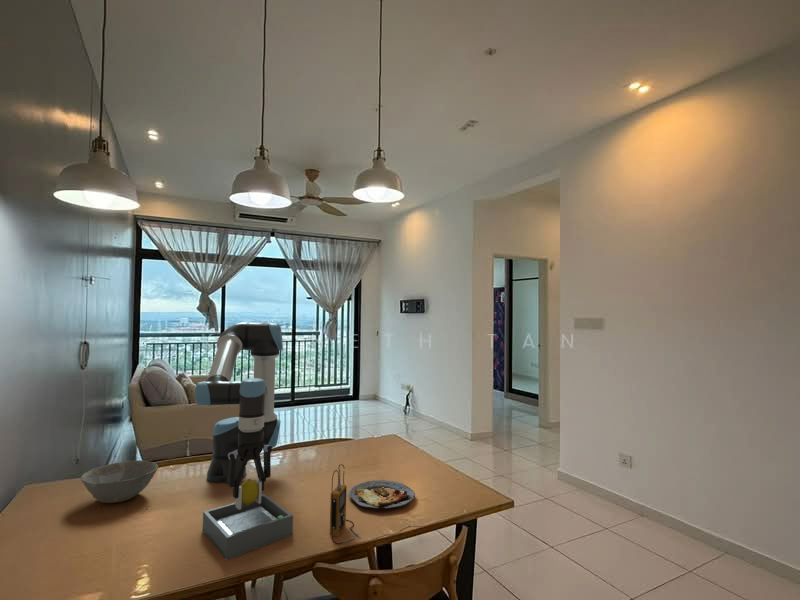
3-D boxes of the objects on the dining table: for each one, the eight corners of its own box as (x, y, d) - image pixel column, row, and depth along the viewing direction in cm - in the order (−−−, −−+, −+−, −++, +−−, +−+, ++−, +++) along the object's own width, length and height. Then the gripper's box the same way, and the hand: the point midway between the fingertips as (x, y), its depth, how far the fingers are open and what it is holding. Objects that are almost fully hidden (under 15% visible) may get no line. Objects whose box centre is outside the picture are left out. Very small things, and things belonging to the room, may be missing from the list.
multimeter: (356, 547, 120) (358, 478, 121) (324, 543, 122) (326, 474, 123) (370, 523, 134) (371, 461, 135) (341, 519, 136) (343, 458, 137)
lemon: (241, 501, 129) (242, 476, 129) (259, 501, 130) (260, 475, 130) (236, 509, 124) (237, 483, 124) (254, 509, 124) (255, 482, 124)
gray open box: (202, 531, 127) (203, 509, 127) (264, 511, 140) (264, 492, 141) (226, 560, 112) (227, 536, 112) (292, 535, 125) (293, 513, 126)
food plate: (426, 504, 148) (426, 494, 148) (368, 520, 136) (368, 509, 137) (392, 482, 170) (392, 473, 170) (340, 493, 158) (340, 484, 158)
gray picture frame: (213, 523, 127) (214, 519, 127) (260, 508, 137) (260, 505, 137) (232, 543, 116) (232, 539, 116) (281, 526, 126) (281, 522, 126)
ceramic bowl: (164, 498, 149) (166, 470, 149) (86, 520, 132) (88, 489, 132) (146, 481, 164) (147, 455, 164) (73, 498, 147) (75, 470, 147)
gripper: (225, 437, 119) (222, 518, 117) (284, 426, 131) (281, 500, 130) (216, 431, 124) (212, 509, 123) (273, 422, 137) (271, 492, 136)
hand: (248, 504), depth 126 cm, fingers closed on lemon, 5 cm apart
